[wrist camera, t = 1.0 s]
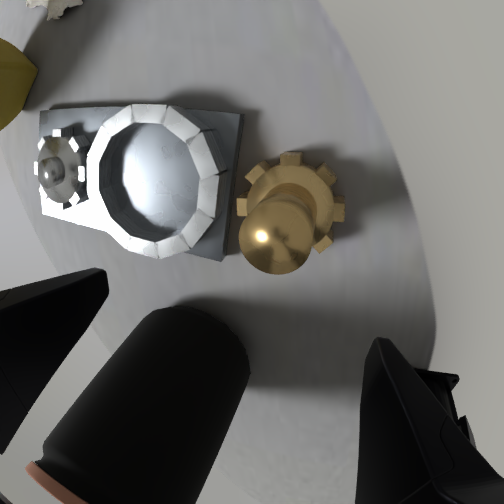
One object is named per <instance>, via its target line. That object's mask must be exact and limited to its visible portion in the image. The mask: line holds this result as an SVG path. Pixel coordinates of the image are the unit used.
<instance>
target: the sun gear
mask: <svg viewBox="0 0 504 504" xmlns="http://www.w3.org/2000/svg"><path fill="white" fill-rule="evenodd" d="M90 145H91V144H90V143H89V141H88V139H87V138H86V136H85V135H81V136H74V135H73V127H64V128H58V129H53V135H48V136H43V137H42V138H41V140H40V142H39V144H38V147H39V149H40V153H39V156H38V161H35V162H34V173H35V174H38V179H39V182H40V184H41V188H40V190H39V191H40V193H41V195H42V196H43V198H44V200H45V199H48V198H50V199H51V200H52V201H54V205H55V209H57V210H61V211H63V210H66V209H68V208H70V207H72V206H73V207H74V206H76V205H78V204H81V203H83V202H85V201H86V199H87V198H88V197H89V195H88V194H89V193H90V192H87V158H88V157H89V156H88V151H87V149H88V148H89V147H90Z"/></svg>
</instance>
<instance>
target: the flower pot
mask: <svg viewBox="0 0 504 504" xmlns="http://www.w3.org/2000/svg"><path fill="white" fill-rule="evenodd" d="M37 72H38V70H37V68H36V67H35V66H34V65H33V63H32V62H31V61H30V60H29V59H28V58H27V57H26V56H25V55H24V54H23V53H22V52H21V51H20V50H19V49H18V48H16V47H15V46H14V45H12V44H11V43H9V42H7V41H6V40H3V39H1V38H0V131H1V130H2V129H3V128H4V127H6V126H7V125H8V124H9V123H10V122H11V121H12V120H13V119H14V118H15V117H16V116H17V115H18V114H19V113H20V112H21V110H22V108H23V106H24V103H25V100H26V98H27V95H28V93H29V91H30V88H31V86H32V84H33V82H34V79H35V77H36V75H37Z"/></svg>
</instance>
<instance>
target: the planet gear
mask: <svg viewBox="0 0 504 504" xmlns="http://www.w3.org/2000/svg"><path fill="white" fill-rule="evenodd" d="M245 178H246V179H247V180H248V181H249V182H250V183H251V184H252V187H251V189H250V191H249V192H247V191H245V192H244V193H242V194H241V195H240V196H239V197H238V198H237V216H247V217H246V218H245V219H244V221H243V223H242V225H241V227H240V231H239V244H240V248H241V251H242V253H243V255H244V256H245V258H246V259H247V260H248V261H249V263H250V264H252V265H253V266H254V267H255V268H257V269H259V270H261V271H263V272H265V273H269V274H286V273H290V272H292V271H294V270H296V269H298V268H299V267H300V266H302V265H303V264H304V262H305V261H306V260H307V258H308V256H309V254H310V251H311V247H312V246H313V247H314V248H315V249H316V250H317V251H318V253H319V254H320V253H321V252H322V251H323V250H325V249H326V248H327V247H328V246H330V245H331V244H332V243H333V231H332V230H331V229H330V228H331V225H332V222H333V221H335V222H344V215H345V200H344V196H334V195H333V191H332V188H331V185H332V184H333V183H335V182H336V181H337V178H336V174H335V173H334V172H333V171H332V170H331V169H330V168H329V167H328V166H327V165H326V164H325V162H323V163H322V164H321V165H320V166H319V167H318V168H317V169H316V168H314V167H312V166H311V165H308V164H306V163H303V152H284V153H282V154H281V155H280V164H277V165H275V166H273V167H271V166H270V165H269V164H268V163H267V162H266V161H265V160H263V161H262V162H260V163H258V164H257V165H256V166H255V167H254V168H253V169H252V170H251V171H250V172H249V173H248V174H247V175H246V176H245Z"/></svg>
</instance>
